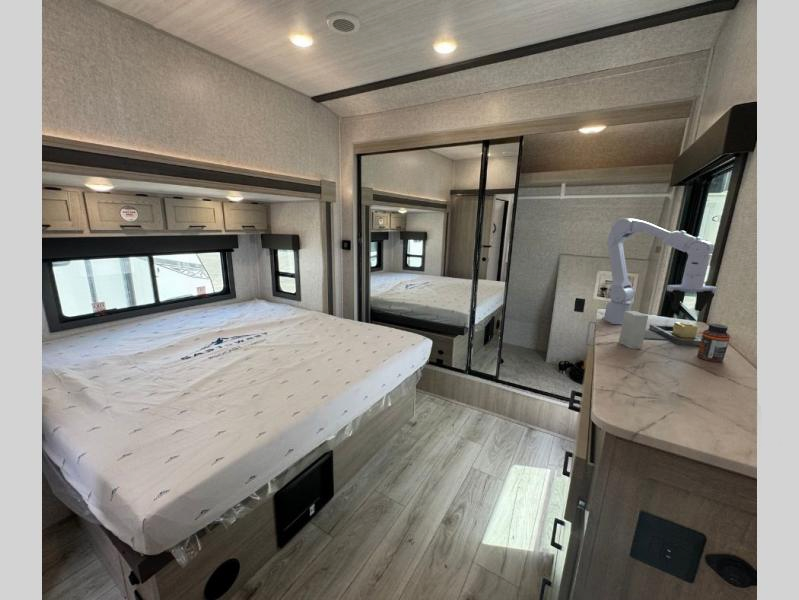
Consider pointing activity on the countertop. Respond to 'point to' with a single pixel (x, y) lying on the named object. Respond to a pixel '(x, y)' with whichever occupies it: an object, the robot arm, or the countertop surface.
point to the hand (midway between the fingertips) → (686, 310)
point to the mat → (653, 336)
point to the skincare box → (633, 329)
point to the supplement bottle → (714, 343)
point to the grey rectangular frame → (667, 333)
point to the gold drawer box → (684, 330)
